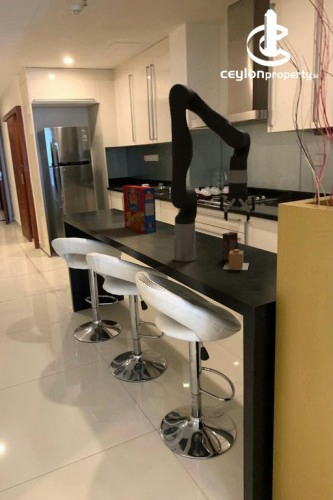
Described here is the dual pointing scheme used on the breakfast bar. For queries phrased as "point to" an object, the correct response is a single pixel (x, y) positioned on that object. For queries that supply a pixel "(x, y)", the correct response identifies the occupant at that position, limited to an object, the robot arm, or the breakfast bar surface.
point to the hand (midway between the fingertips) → (236, 220)
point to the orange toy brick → (236, 258)
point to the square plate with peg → (244, 268)
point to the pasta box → (139, 208)
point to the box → (229, 243)
